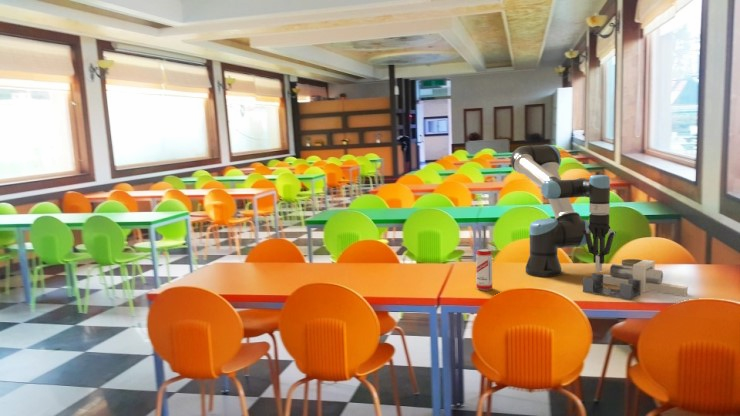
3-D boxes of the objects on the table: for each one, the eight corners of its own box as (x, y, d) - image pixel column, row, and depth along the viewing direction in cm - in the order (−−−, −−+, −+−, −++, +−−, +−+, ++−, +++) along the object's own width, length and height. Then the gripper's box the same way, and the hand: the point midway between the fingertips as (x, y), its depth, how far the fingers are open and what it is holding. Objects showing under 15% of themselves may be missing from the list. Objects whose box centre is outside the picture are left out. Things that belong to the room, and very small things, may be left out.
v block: (582, 291, 216) (582, 277, 215) (593, 286, 222) (593, 273, 221) (630, 300, 203) (631, 285, 202) (640, 294, 209) (640, 280, 209)
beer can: (481, 285, 229) (480, 247, 227) (495, 288, 225) (494, 249, 223) (473, 289, 225) (473, 250, 223) (487, 291, 221) (487, 252, 219)
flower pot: (651, 281, 226) (651, 264, 225) (624, 281, 228) (624, 264, 227) (644, 275, 236) (644, 258, 235) (618, 275, 238) (619, 258, 237)
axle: (609, 277, 223) (610, 264, 223) (614, 275, 226) (615, 263, 226) (657, 284, 210) (658, 271, 210) (662, 282, 214) (663, 269, 213)
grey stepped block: (596, 285, 224) (596, 260, 223) (607, 279, 232) (608, 255, 230) (681, 299, 202) (682, 271, 201) (690, 292, 210) (691, 265, 208)
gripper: (579, 213, 228) (579, 270, 230) (611, 215, 218) (610, 275, 221) (587, 211, 233) (587, 267, 236) (619, 213, 223) (618, 271, 226)
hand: (598, 270), depth 228 cm, fingers closed
